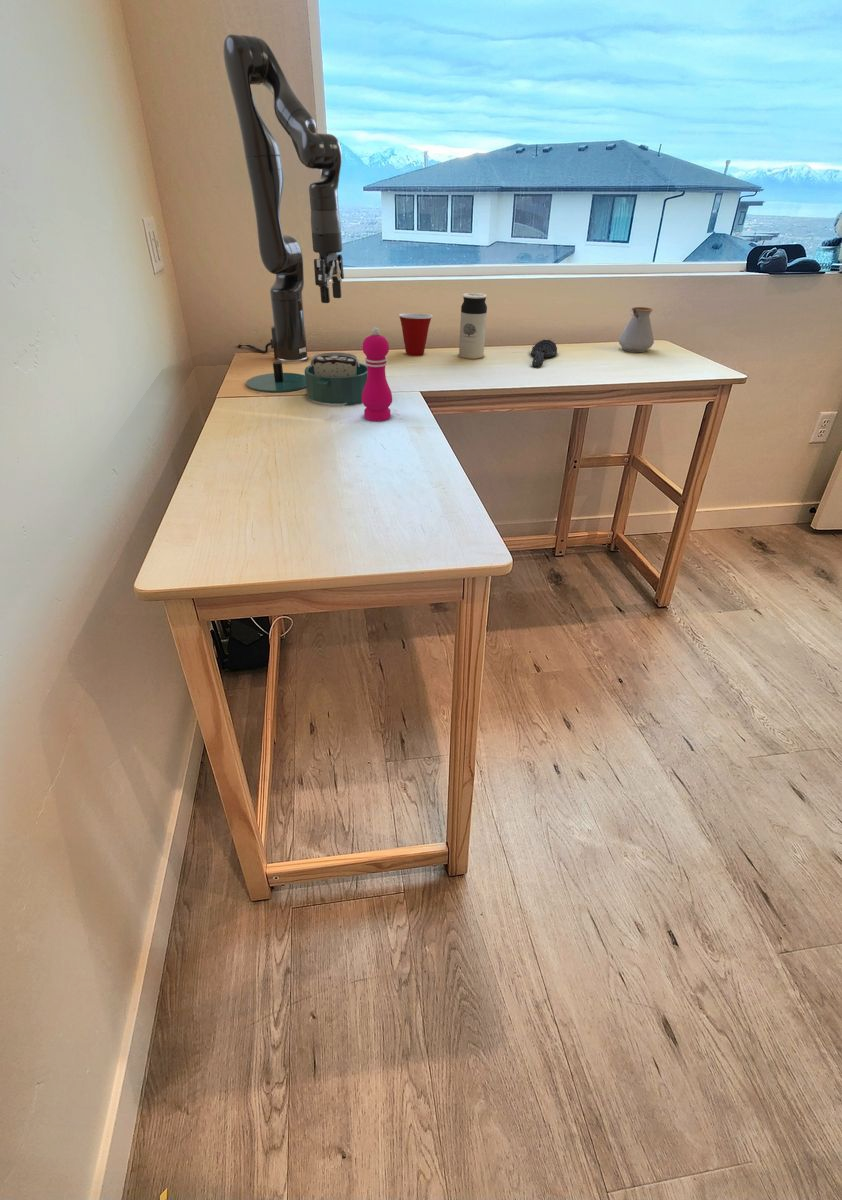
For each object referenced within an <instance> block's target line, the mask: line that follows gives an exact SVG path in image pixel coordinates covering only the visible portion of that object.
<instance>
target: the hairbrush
mask: <svg viewBox="0 0 842 1200" xmlns="http://www.w3.org/2000/svg"><path fill="white" fill-rule="evenodd" d="M557 354H558V346H557V344H556V343H555V342H554V341H553V339H552V338H548V339H545V337H543V339H541V338H540V339H538V341H536V342H535V343H534V344H533V345H532V346H531V351H530V355H531V356H532V361H531V362H532V363H531V365H532V367H534V368H540V367H542V365H543V363H544V359H545V358H555V357H556V356H557Z"/></svg>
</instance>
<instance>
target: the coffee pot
mask: <svg viewBox="0 0 842 1200" xmlns="http://www.w3.org/2000/svg"><path fill="white" fill-rule="evenodd" d="M631 311H632V314H631V318H630V320H629V321H628V323H627V325H626V326H625V328H624V330H623V331H622V333H621V334H620V336H619V338H618V343H619V346H620V347H621V348H622V350H623V351H625V352H629V353H645V352H647V350H649V349H651V348H652V346H653V345H654V343H655V341H654V335H653V330H652V324H651V319H650V316H651V313H652V312H653V311H654V310H653V308H650V307H644V306H643V307H642V306H636V307H631Z"/></svg>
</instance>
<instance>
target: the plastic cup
mask: <svg viewBox="0 0 842 1200" xmlns="http://www.w3.org/2000/svg"><path fill="white" fill-rule="evenodd" d="M398 317H399V320H400V324H401V325H400V326H401V329H402V330H401V331H402V336H403V344H404V350H405V354H406V355H407V356H409V357H420V356H423V355H424V353H425V350H426V344H427V339H428V335H429V329H430V323H431V320H432V318H433V315H432V314H427V313H425V314H424V313H398Z"/></svg>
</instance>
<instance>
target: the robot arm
mask: <svg viewBox="0 0 842 1200" xmlns="http://www.w3.org/2000/svg"><path fill="white" fill-rule="evenodd" d="M222 45H223V46H222V48H223V49H222V55H223V63H224V68H225V72H226V76H227V81H228V84H229V89H230V92H231V95H232V100H233V104H234V107H235V112H236V117H237V120H238V125H239V130H240V135H241V140H242V141H241V142H242V147H243V154H244V161H245V165H246V170H247V175H248V179H249V185H250V190H251V196H252V202H253V207H254V215H255V221H256V229H257V240H258V250H259V256H260V259H261V262H262V264H263V267H264V268H265V269H266V270H267V271H268V272H269V273H270V274H273V275H275V280H274V282H273V284H272V285H271V287H270V288H269V296H270V305H271V313H272V314H271V315H272V322H273V323H272V324H273V326H271V327H270V331H271V338H270V342H268V343H267V344H266V345H265V347H264V348H265V350H263V349H260V348H258V347H256V346H254V345H251V344H249V345H240V344H241V343H239V344H238V345H237V348H241V347H242V346H243V347H247V348H250V349H252V350H255V351H256V352H259V353H261V354H267V353H268V352H269V347H270V349H273V358H274V360H278V361H280V362H288V363H289V362H291V363H292V362H306V361H307V360H309V357H308V349H307V338H306V325H305V315H304V313H305V312H304V303H303V290H304V287H305V285H304V284H305V280H304V279H305V278H304V275H305V274H304V258H303V252H302V248H301V246H300V243H299V242H298V240H297V239H296V238H295V237H294V236H292V235H288V234H283V231H282V224H281V218H280V217H281V215H280V212H281V211H280V210H281V202H282V195H283V191H284V183H285V182H284V180H285V179H284V169H283V163H282V157H281V152H280V148H279V145H278V142H277V141H276V138H275V137H274V135H273V134H272V132H271V130H270V129H269V127H268V125H267V124H266V123H265V121H264V119H263V118H262V116H261V115H260V112H259V110H258V107H257V106H256V102H255V99H254V96H253V95H254V94H253V92H252V87H251V86H263V87H265V88H266V89H267V90H268V91H269V92H270V93H271V94H272V104H273V105H272V107H273V111H274V116H275V117H276V119H277V121H278V123H279V124H280V126H281V128H283V130H284V131H285V133H286V134H287V135H288V136H289V137H290V139H291V142H292V144H293V145H292V146H293V147H294V149H295V152H296V155H297V158H298V159H299V161H300V163H301V164H302V165H303V166H304V167H306V168H307V169H310V170H321V173H320V176H319V177H320V178H319V179H318V180H316V181H313V182H311V183H310V184H309V187H308V194H309V195H308V196H309V207H310V208H309V209H310V230H311V240H312V251H313V252H314V253H316V254H318V255H319V256H318V257H319V258H314V259H313V270H314V283H315V286H318V287H319V291H320V293H319V294H320V303H322V304H329V303H330V301H331V297H330V287H329V285H330V281H331V282H332V283H331V284H332V285H331V286H332V287H331V289H332V297H333V298H334V299H341V298H342V288H341V287H342V284H341V283H342V280H344V278H345V274H344V263H343V255H342V254H340V253H341V252H342V251H343V241H342V226H341V217H340V211H339V210H340V209H339V196H338V189H339V182H340V175H341V170H342V162H343V149H342V147H341V144H340V141H339V139H338V138H337V137H336V135H333V134H331V133H317V124H316V121H315V118H314V117H313V115H312V114H311V113H310V112H309V110H308V109H307V107H306V106H305V104H303V102H302V101H301V99H299V97H298V96H297V94H296V93H295V91H294V90H293V88H292V86H291V84H290V83H289V81H288V79H287V76H286V75H285V73H284V71H283V69H282V67H281V66H280V63H279V62H278V59H277V57H276V55H275V54H274V52H273V50H272V48H270V45H269V44H268V43H267V41H265V39H263V38H262V37H259V36H254V35H245V34H238V33H237V34H235V33H232V34H228V35H226V36H225V38H224V39H223V44H222Z"/></svg>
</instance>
